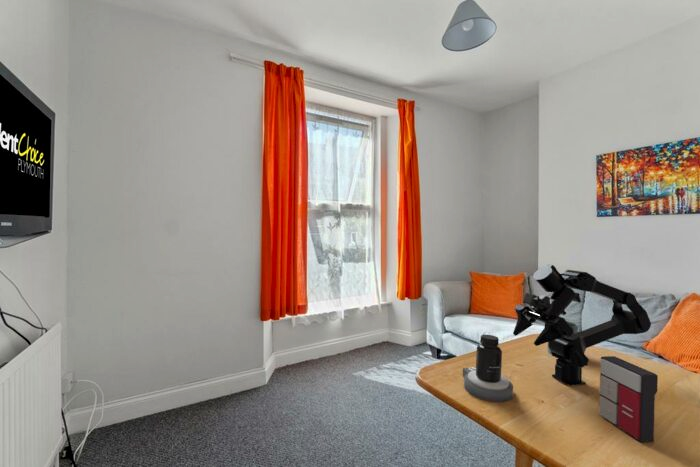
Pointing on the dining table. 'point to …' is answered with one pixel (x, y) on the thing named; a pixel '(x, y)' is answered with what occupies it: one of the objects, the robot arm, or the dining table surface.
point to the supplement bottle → (489, 359)
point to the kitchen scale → (487, 387)
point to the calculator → (628, 397)
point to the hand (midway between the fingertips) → (524, 339)
